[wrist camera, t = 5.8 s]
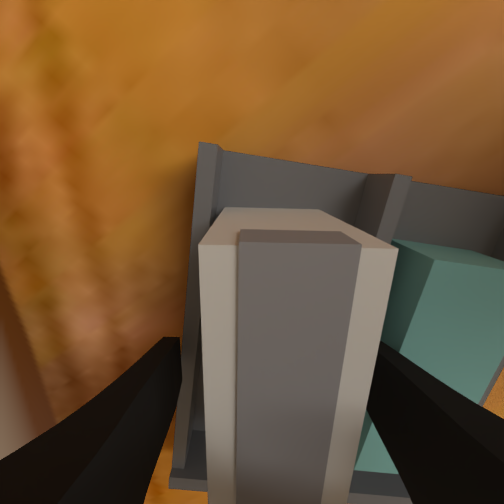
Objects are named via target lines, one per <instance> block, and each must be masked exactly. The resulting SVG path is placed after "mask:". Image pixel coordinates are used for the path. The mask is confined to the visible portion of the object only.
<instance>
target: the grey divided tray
mask: <svg viewBox="0 0 504 504" xmlns="http://www.w3.org/2000/svg"><path fill="white" fill-rule="evenodd" d="M411 180H412V177H411V176H405V175H399V174H365V173H359V172H353V171H347V170H341V169H335V168H329V167H323V166H316V165H310V164H304V163H298V162H292V161H286V160H280V159H274V158H267V157H261V156H255V155H249V154H243V153H237V152H231V151H225V150H223V149H222V148H221V147H220V146H219V145H217V144H211V143H205V142H199V148H198V160H197V172H196V184H195V196H194V208H193V220H192V232H191V244H190V256H189V268H188V280H187V292H186V304H185V316H184V328H183V340H182V352H181V365H182V384H181V389H180V393H179V397H178V401H177V412H176V424H175V436H174V448H173V460H172V469H171V473H170V477H169V489H181V490H192V491H204V492H208V486H207V460H206V434H205V408H204V382H203V356H202V330H201V305H200V279H199V253H198V244H199V243H200V241H201V240H202V239H203V237H204V236H205V234H206V233H207V232H208V230H209V229H210V227H211V226H212V225H213V223H214V222H215V220H216V219H217V218H218V216H219V215H220V213H221V212H222V211H223V209H224V208H225V207H243V208H285V209H319V210H321V211H323V212H325V213H327V214H329V215H331V216H333V217H335V218H337V219H339V220H341V221H343V222H345V223H347V224H349V225H351V226H353V227H356V228H358V229H360V230H362V231H364V232H366V233H368V234H370V235H372V236H374V237H376V238H378V239H380V240H382V241H384V242H386V243H388V244H390V245H391V241H392V239H398V240H405V241H412V242H418V243H425V244H432V245H438V246H445V247H452V248H459V249H465V250H472V251H475V252H478V253H481V254H483V255H486V256H489V257H492V258H495V259H498V260H501V261H504V196H500V195H494V194H488V193H482V192H476V191H469V190H463V189H457V188H451V187H445V186H439V185H433V184H427V183H420V182H414V181H411ZM503 367H504V356H503V358H502V360H501V362H500V364H499V366H498V368H497V370H496V371H495V373H494V375H493V377H492V379H491V381H490V383H489V385H488V387H487V388H486V390H485V392H484V394H483V396H482V398H481V400H480V402H479V404H478V405H480V406H483V404H484V403H485V401H486V399H487V397H488V395H489V393H490V391H491V390H492V388H493V386H494V384H495V382H496V380H497V378H498V377H499V375H500V373H501V371H502V369H503ZM347 504H413V503H412V501H411V499H410V496H409V494H408V492H407V490H406V488H405V486H404V483H403V481H402V479H401V477H400V475H399V474H391V473H380V472H369V471H359V470H353V475H352V480H351V484H350V489H349V494H348V499H347Z"/></svg>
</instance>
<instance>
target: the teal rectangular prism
mask: <svg viewBox="0 0 504 504" xmlns="http://www.w3.org/2000/svg"><path fill="white" fill-rule="evenodd" d="M391 245H392V246H394V247H396V248H398V249H399V250H398V255H397V260H396V265H395V270H394V274H393V279H392V284H391V289H390V294H389V299H388V304H387V309H386V314H385V318H384V323H383V328H382V333H381V338H380V341H382V342H384V343H385V344H387V345H388V346H390V347H391V348H393V349H394V350H396V351H397V352H399V353H400V354H402V355H403V356H405V357H406V358H408V359H409V360H410V361H412V362H413V363H415V364H416V365H418V366H419V367H421V368H422V369H424V370H425V371H426V372H428V373H429V374H431V375H432V376H434V377H435V378H437V379H438V380H440V381H441V382H443V383H445V384H446V385H448V386H449V387H451V388H452V389H454V390H455V391H457V392H459V393H460V394H462V395H463V396H465V397H467V398H468V399H470V400H472V401H473V402H475V403H476V404H479V402H480V400H481V398H482V396H483V394H484V392H485V390H486V388H487V387H488V385H489V383H490V381H491V379H492V377H493V375H494V373H495V371H496V370H497V368H498V366H499V364H500V362H501V360H502V358H503V356H504V261H501V260H498V259H495V258H492V257H489V256H486V255H483V254H481V253H478V252H475V251H472V250H465V249H459V248H452V247H445V246H438V245H432V244H425V243H418V242H412V241H405V240H398V239H392V241H391ZM354 470H359V471H369V472H380V473H391V474H399V473H398V471H397V469H396V467H395V465H394V463H393V461H392V459H391V457H390V456H389V454H388V452H387V450H386V448H385V446H384V444H383V442H382V440H381V438H380V436H379V434H378V432H377V430H376V428H375V426H374V424H373V422H372V420H371V418H370V416H369V414H368V412H367V410H366V411H365V416H364V421H363V426H362V431H361V436H360V440H359V445H358V450H357V455H356V460H355V465H354Z"/></svg>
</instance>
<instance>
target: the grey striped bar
mask: <svg viewBox="0 0 504 504" xmlns="http://www.w3.org/2000/svg"><path fill="white" fill-rule="evenodd" d="M398 250H399V249H398V248H396V247H394V246H392V245H390V244H388V243H386V242H384V241H382V240H380V239H378V238H376V237H374V236H372V235H370V234H368V233H366V232H364V231H362V230H360V229H358V228H356V227H353V226H351V225H349V224H347V223H345V222H343V221H341V220H339V219H337V218H335V217H333V216H331V215H329V214H327V213H325V212H323V211H321V210H319V209H285V208H243V207H225V208H224V209H223V211H222V212H221V213H220V215H219V216H218V218H217V219H216V220H215V222H214V223H213V225H212V226H211V227H210V229H209V230H208V232H207V233H206V234H205V236H204V237H203V239H202V240H201V241H200V243H199V244H198V253H199V279H200V305H201V330H202V356H203V382H204V408H205V434H206V460H207V486H208V504H347V499H348V494H349V489H350V484H351V480H352V475H353V470H354V465H355V460H356V455H357V450H358V445H359V440H360V436H361V431H362V426H363V421H364V416H365V411H366V406H367V401H368V397H369V392H370V387H371V382H372V377H373V372H374V367H375V362H376V357H377V353H378V348H379V343H380V338H381V333H382V328H383V323H384V318H385V314H386V309H387V304H388V299H389V294H390V289H391V284H392V279H393V274H394V270H395V265H396V260H397V255H398Z"/></svg>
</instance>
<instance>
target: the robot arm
mask: <svg viewBox="0 0 504 504" xmlns="http://www.w3.org/2000/svg"><path fill="white" fill-rule="evenodd" d="M181 384H182V365H181V351H180V337H163V338H162V339H161V340H160V341H159V342H158V343H156V344H155V345H154V346H153V347H152V348H151V349H150V350H149V351H148V352H147V353H146V354H145V355H143V356H142V357H141V358H140V359H139V360H138V361H137V362H136V363H135V364H134V365H132V366H131V367H130V368H129V369H128V370H127V371H126V372H125V373H123V374H122V375H121V376H120V377H119V378H118V379H116V380H115V381H114V382H113V383H111V384H110V385H109V386H108V387H107V388H105V389H104V390H103V391H102V392H100V393H99V394H98V395H97V396H95V397H94V398H93V399H92V400H90V401H89V402H88V403H86V404H85V405H84V406H82V407H81V408H80V409H78V410H77V411H75V412H74V413H72V414H71V415H70V416H68V417H67V418H65V419H64V420H63V421H61V422H60V423H58V424H57V425H55V426H54V427H52V428H51V429H49V430H48V431H46V432H44V433H43V434H41V435H40V436H38V437H37V438H35V439H34V440H32V441H30V442H29V443H27V444H26V445H24V446H23V447H21V448H19V449H18V450H16V451H15V452H13V453H11V454H10V455H8V456H7V457H5V458H3V459H1V460H0V504H143V503H144V500H145V496H146V493H147V490H148V486H149V483H150V480H151V477H152V474H153V471H154V469H155V466H156V463H157V460H158V457H159V455H160V452H161V449H162V446H163V443H164V440H165V438H166V435H167V432H168V429H169V426H170V423H171V421H172V418H173V415H174V412H175V409H176V406H177V401H178V397H179V393H180V389H181ZM366 410H367V412H368V414H369V416H370V418H371V420H372V422H373V424H374V426H375V428H376V430H377V432H378V434H379V436H380V438H381V440H382V442H383V444H384V446H385V448H386V450H387V452H388V454H389V456H390V457H391V459H392V461H393V463H394V465H395V467H396V469H397V471H398V473H399V475H400V477H401V479H402V481H403V483H404V486H405V488H406V490H407V492H408V494H409V496H410V499H411V501H412V503H413V504H504V419H503V418H501V417H499V416H497V415H495V414H494V413H492V412H490V411H488V410H487V409H485V408H483V407H482V406H480V405H478V404H476V403H475V402H473V401H472V400H470V399H468V398H467V397H465V396H463V395H462V394H460V393H459V392H457V391H455V390H454V389H452V388H451V387H449V386H448V385H446V384H445V383H443V382H441V381H440V380H438V379H437V378H435V377H434V376H432V375H431V374H429V373H428V372H426V371H425V370H424V369H422V368H421V367H419V366H418V365H416V364H415V363H413V362H412V361H410V360H409V359H408V358H406V357H405V356H403V355H402V354H400V353H399V352H397V351H396V350H394V349H393V348H391V347H390V346H388V345H387V344H385V343H384V342H382V341H380V343H379V348H378V353H377V357H376V362H375V367H374V372H373V377H372V382H371V387H370V392H369V397H368V401H367V406H366Z"/></svg>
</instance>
